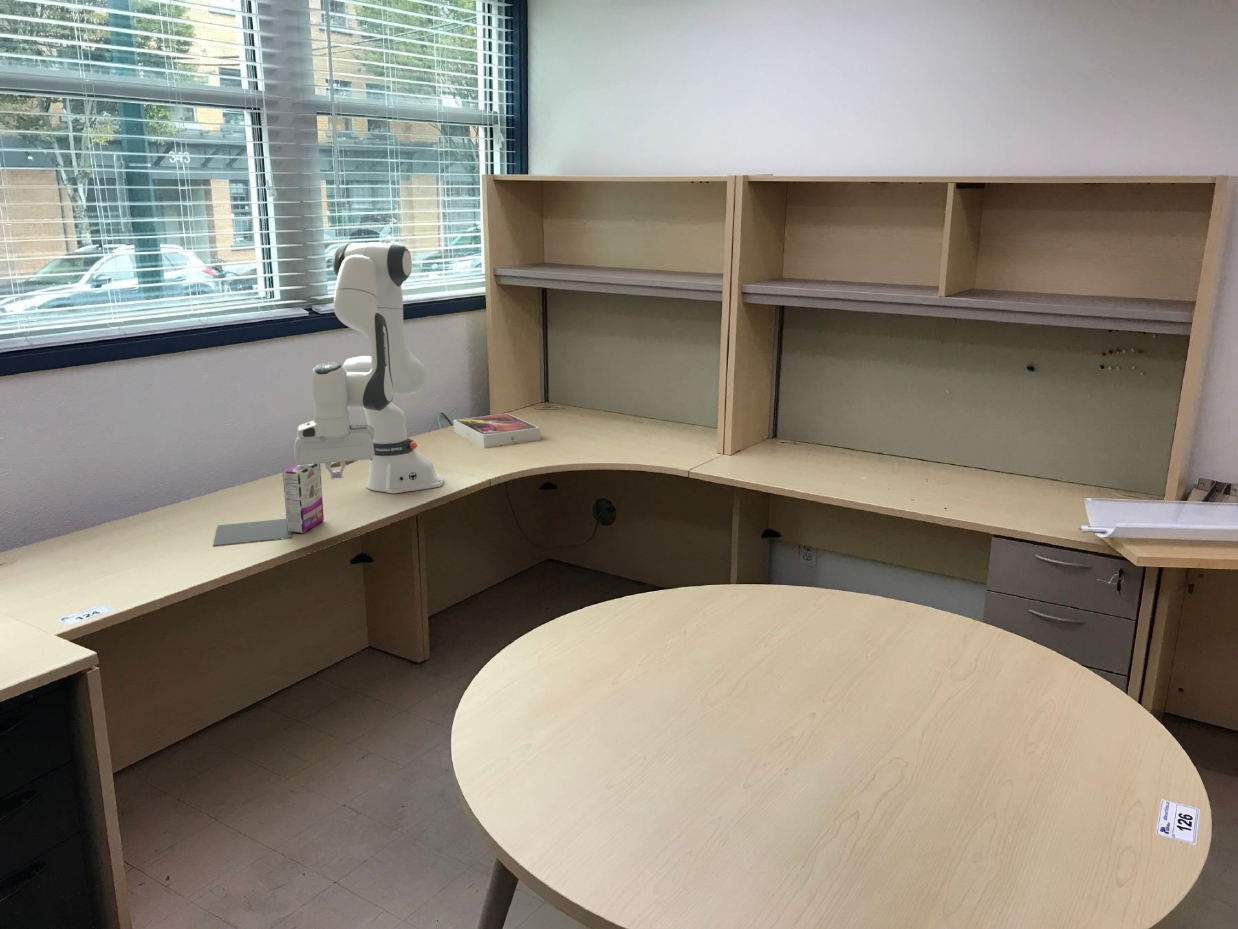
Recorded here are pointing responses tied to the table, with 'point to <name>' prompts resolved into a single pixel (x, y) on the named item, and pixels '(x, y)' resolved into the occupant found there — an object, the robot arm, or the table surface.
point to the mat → (251, 532)
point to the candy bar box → (303, 497)
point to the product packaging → (496, 430)
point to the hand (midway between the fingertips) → (336, 477)
